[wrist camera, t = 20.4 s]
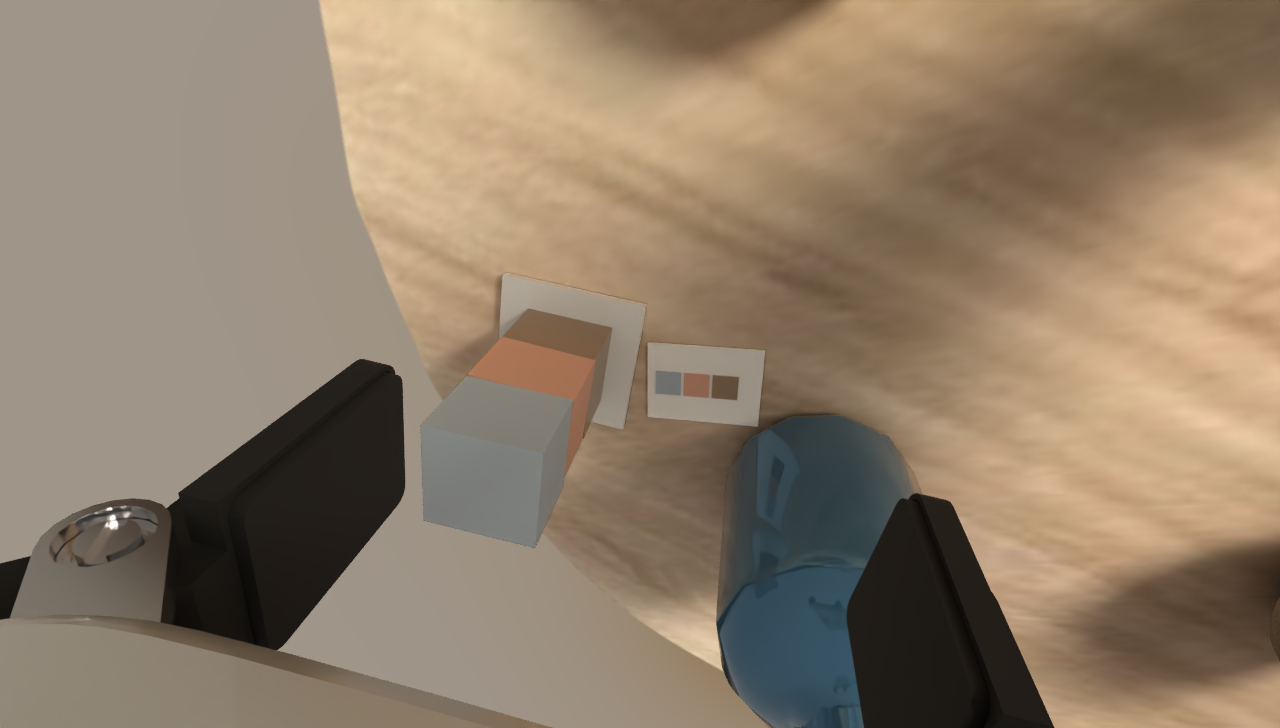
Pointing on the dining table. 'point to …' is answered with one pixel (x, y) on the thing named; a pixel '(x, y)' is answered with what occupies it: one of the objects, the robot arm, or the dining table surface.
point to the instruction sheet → (705, 383)
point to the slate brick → (495, 460)
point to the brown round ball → (1275, 628)
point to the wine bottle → (802, 563)
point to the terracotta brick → (542, 378)
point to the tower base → (590, 311)
